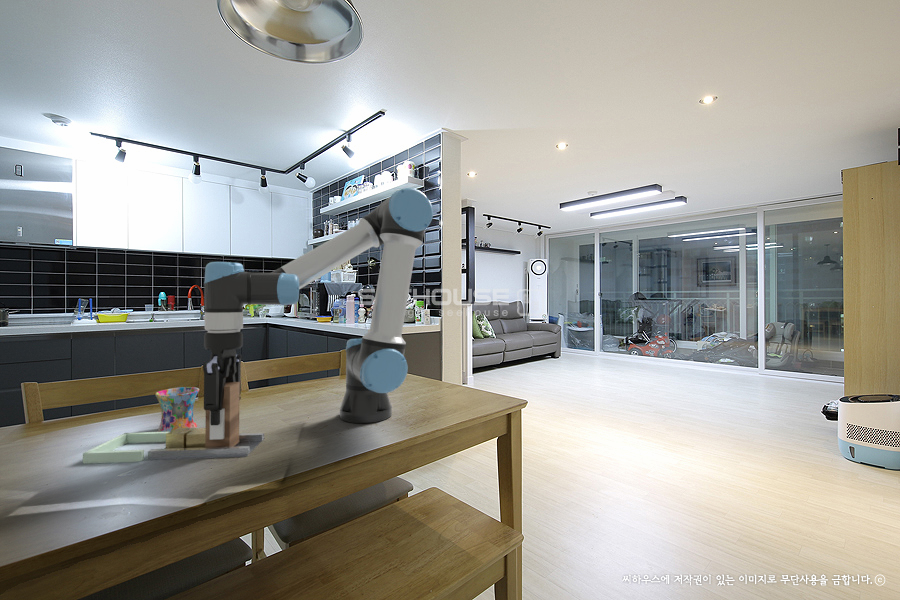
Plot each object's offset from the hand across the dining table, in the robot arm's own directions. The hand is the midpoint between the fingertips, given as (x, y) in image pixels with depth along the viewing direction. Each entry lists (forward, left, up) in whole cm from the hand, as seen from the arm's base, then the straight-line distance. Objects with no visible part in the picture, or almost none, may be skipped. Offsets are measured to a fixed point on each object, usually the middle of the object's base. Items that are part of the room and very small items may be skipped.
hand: (223, 433), depth 88 cm
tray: (+19, 0, -4) cm, 19 cm away
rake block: (0, 0, -3) cm, 3 cm away
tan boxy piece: (+5, 0, -3) cm, 6 cm away
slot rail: (+3, 0, -4) cm, 5 cm away
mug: (+18, -16, -4) cm, 24 cm away
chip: (+9, 0, -3) cm, 10 cm away
